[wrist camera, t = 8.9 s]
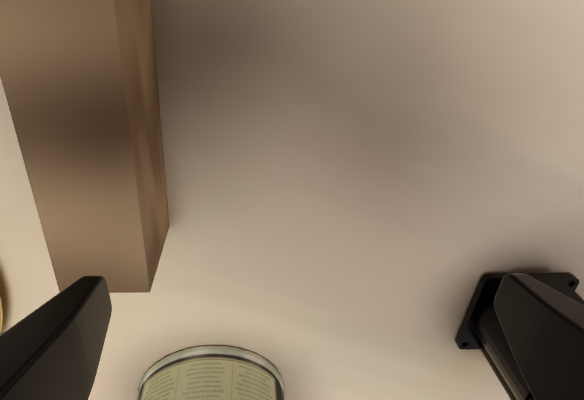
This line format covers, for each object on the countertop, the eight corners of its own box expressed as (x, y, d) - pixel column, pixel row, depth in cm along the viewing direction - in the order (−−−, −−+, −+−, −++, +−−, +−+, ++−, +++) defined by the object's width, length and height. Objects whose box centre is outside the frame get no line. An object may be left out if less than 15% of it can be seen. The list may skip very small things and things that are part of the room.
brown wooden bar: (169, 226, 21) (146, 302, 17) (98, 225, 21) (53, 303, 16) (136, -172, 13) (74, -246, 9) (20, -187, 13) (-113, -275, 8)
